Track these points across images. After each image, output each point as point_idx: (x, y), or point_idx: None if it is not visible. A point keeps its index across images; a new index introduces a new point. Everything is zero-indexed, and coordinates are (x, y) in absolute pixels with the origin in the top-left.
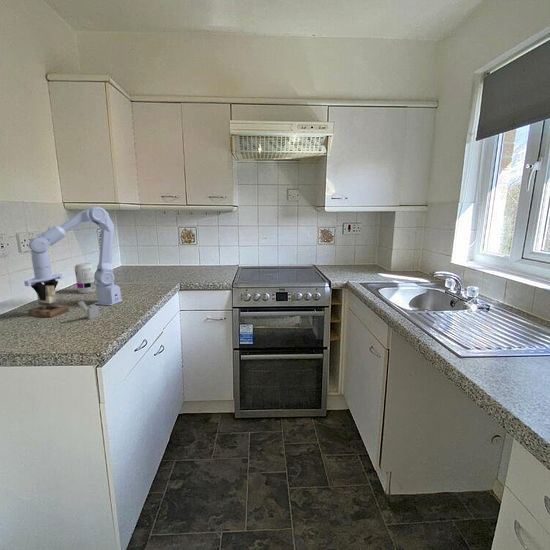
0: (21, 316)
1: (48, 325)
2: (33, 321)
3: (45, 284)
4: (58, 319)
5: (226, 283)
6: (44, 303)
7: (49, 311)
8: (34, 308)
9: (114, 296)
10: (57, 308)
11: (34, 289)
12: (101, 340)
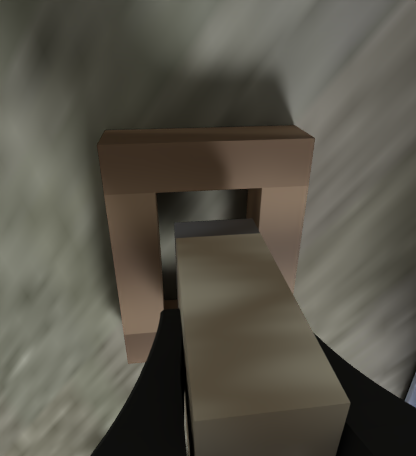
0: (54, 82)
1: (31, 424)
2: (28, 301)
3: (352, 450)
4: (124, 389)
5: None
6: (178, 304)
7: (137, 350)
8: (155, 160)
9: None
10: None
11: (106, 442)
12: None
